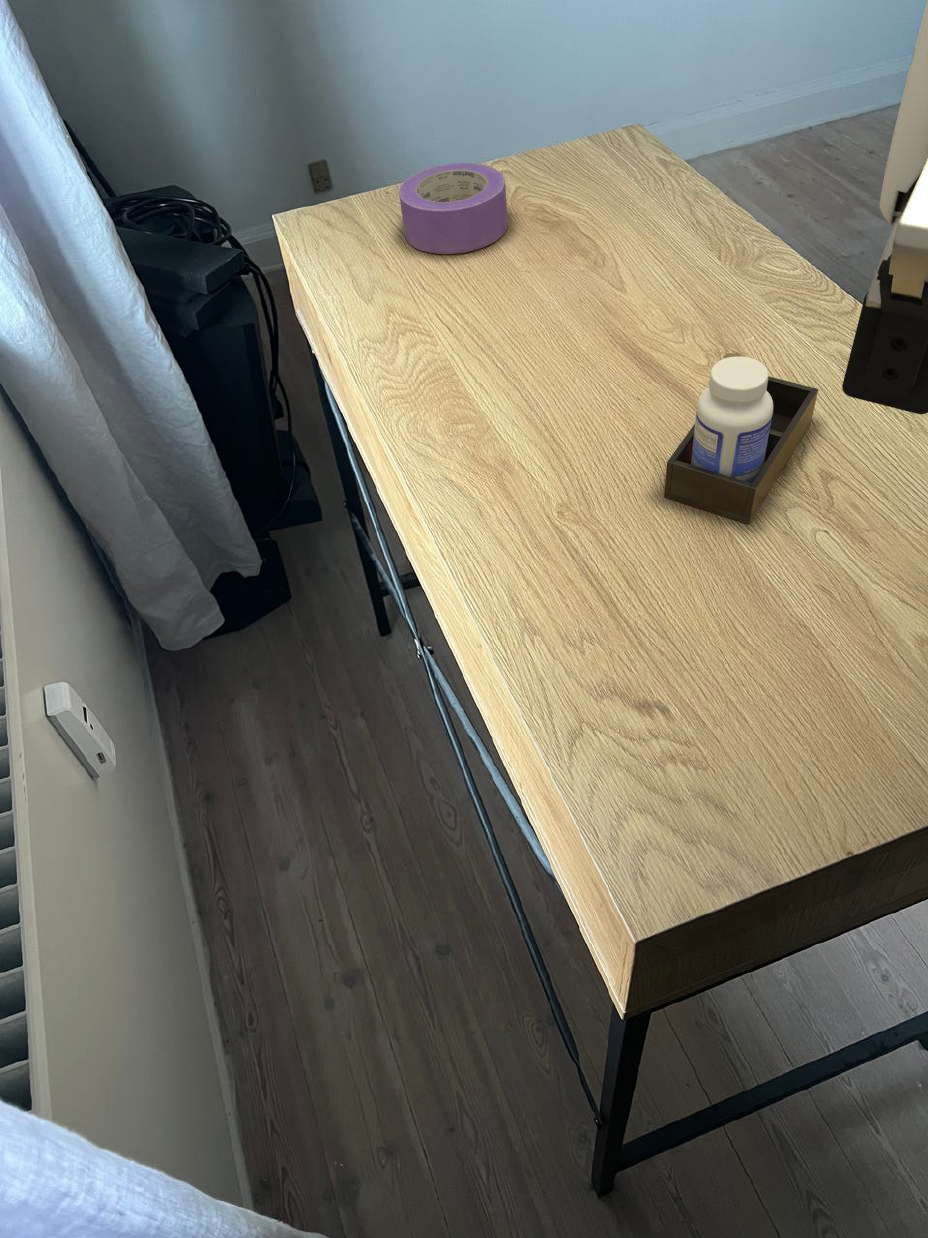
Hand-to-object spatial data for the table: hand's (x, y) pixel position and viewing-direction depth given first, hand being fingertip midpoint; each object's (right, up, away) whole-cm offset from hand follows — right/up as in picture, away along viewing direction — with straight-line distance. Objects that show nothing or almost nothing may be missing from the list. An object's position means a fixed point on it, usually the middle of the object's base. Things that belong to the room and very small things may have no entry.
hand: (923, 333), depth 37 cm
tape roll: (-19, +33, +69) cm, 78 cm away
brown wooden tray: (+4, +2, +38) cm, 39 cm away
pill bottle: (+2, 0, +36) cm, 36 cm away
